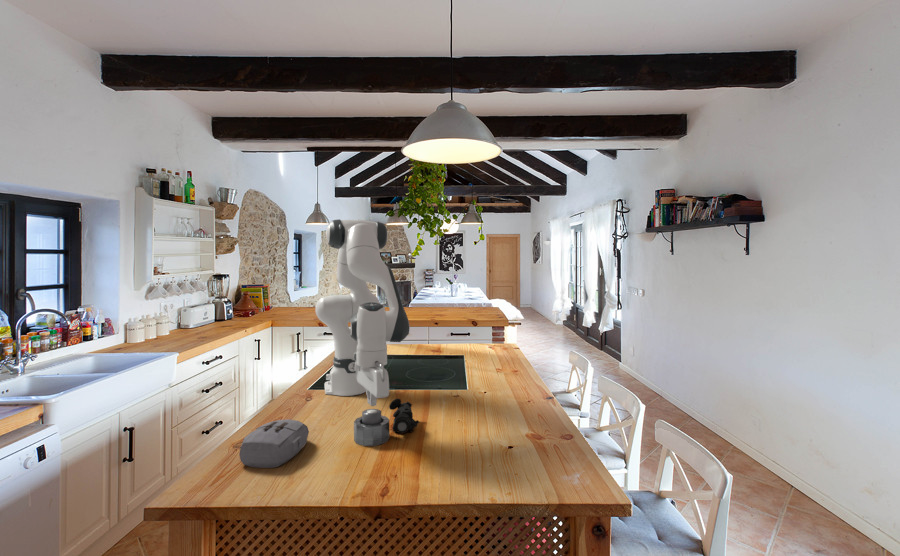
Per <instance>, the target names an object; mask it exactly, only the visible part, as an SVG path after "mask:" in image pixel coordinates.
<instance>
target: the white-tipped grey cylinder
mask: <svg viewBox="0 0 900 556" xmlns="http://www.w3.org/2000/svg"><path fill="white" fill-rule="evenodd" d="M381 415H382V410H380V409H379V408H378V409H377V408H368V409H364V410H362V412H361V416H362V424H364V425H376V424H380V423H381Z"/></svg>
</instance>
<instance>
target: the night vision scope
mask: <svg viewBox="0 0 900 556" xmlns="http://www.w3.org/2000/svg"><path fill="white" fill-rule="evenodd" d="M412 406H413V403H412V402H409V401H405V402H402V400H401V398H395V399H393V400H392V401H391V402H390V403H389V406H388V407H389V409H390V410H395V411H394V412H393V415H392V417H394V419H393V423H392V432H393V433H399V434H405V433H407V432H408V431H409V432H410V433H413V432H414V428H417V427H418V424H419V423H420V422H419V419H418V420H417V419H416V420H415V419H414V418H413V417H414V414H413V411H412Z"/></svg>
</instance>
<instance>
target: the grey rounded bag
mask: <svg viewBox="0 0 900 556" xmlns="http://www.w3.org/2000/svg"><path fill="white" fill-rule="evenodd" d="M309 432H310V431H309V427H308V425H306V424H305V423H303V422H302V421H300V420H295V419H292V418H290V419H278V420H273V421H269V422H267V423H263V424H262V425H260V426H258V427H257V428H256V429H254V430H253V431H251V432H250V433H248V434H247V435H246V436H245V437H244V438H243V440H242V443H241V446H240V449H239V452H238V453H239V454H238V455H239V459H240V461H241V463H242V465H244V466H247V467H250V468H259V469H260V468H261V469H265V468H266V469H273V468H278V467H280V466H281V465H283V464H285V463H287V462H289V461H290V460H291V459H292V458H293V457H295V456H297V454H299V452H300V451H301V449H303V448H304V447H305V445H306V444H307V441H308V438H309Z"/></svg>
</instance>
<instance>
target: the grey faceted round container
mask: <svg viewBox="0 0 900 556" xmlns="http://www.w3.org/2000/svg"><path fill="white" fill-rule="evenodd" d="M389 439H390V418H388V416H385V415H382V414H381V423H380V424H376V425H364V424H362V415H361V416H358V417H357V418H355V419H354V421H353V441H354V442H355V443H356V445H360V446H362V445H363V446H362V447H375V446H379V445H383V444H385V443H387V442H388V441H389Z"/></svg>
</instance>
